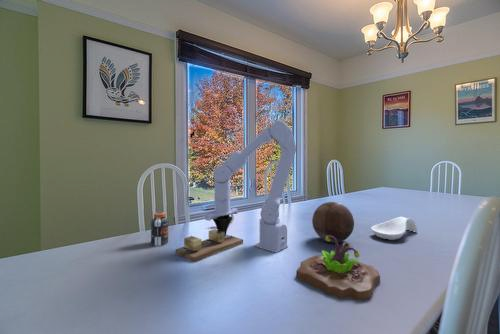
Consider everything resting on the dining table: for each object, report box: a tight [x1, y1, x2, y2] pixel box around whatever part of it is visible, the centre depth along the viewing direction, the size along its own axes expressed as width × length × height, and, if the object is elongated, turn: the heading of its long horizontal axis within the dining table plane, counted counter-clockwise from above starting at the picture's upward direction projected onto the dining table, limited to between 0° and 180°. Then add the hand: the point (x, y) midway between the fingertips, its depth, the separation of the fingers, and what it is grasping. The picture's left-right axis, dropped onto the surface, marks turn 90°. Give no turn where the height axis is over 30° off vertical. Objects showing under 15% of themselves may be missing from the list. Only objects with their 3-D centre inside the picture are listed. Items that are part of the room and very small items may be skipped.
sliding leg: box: [208, 228, 225, 242], centre depth 90 cm, size 6×3×4 cm, turn 50°
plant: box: [295, 235, 381, 301], centre depth 67 cm, size 20×20×11 cm
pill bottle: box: [150, 211, 169, 247], centre depth 92 cm, size 6×6×11 cm
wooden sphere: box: [311, 201, 355, 243], centre depth 96 cm, size 15×15×15 cm
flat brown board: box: [175, 234, 244, 263], centre depth 88 cm, size 10×22×5 cm, turn 140°
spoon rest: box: [370, 216, 418, 241], centre depth 104 cm, size 24×12×7 cm, turn 121°
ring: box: [229, 214, 235, 226], centre depth 115 cm, size 7×3×8 cm, turn 108°
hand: (222, 236), depth 92 cm, fingers closed
